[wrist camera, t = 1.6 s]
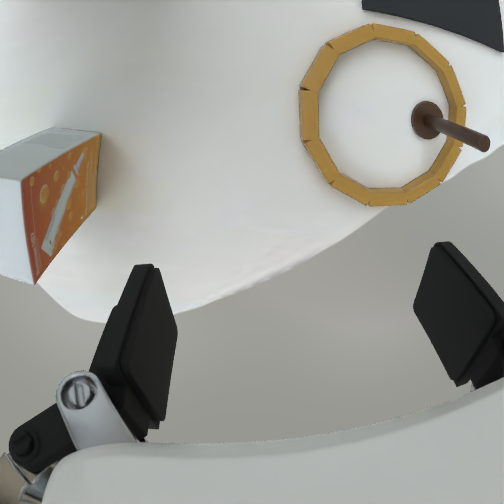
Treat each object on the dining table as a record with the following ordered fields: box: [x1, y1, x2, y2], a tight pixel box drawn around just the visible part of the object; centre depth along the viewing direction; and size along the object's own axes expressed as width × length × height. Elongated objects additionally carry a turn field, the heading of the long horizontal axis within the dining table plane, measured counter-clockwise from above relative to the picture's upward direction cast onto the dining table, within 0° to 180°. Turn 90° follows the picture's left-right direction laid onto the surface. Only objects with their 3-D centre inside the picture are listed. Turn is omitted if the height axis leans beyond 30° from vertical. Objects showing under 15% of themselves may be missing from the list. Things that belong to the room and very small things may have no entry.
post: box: [411, 101, 490, 152], centre depth 20 cm, size 4×4×9 cm
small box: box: [0, 128, 101, 285], centre depth 20 cm, size 8×6×13 cm
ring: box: [299, 24, 466, 206], centre depth 23 cm, size 18×18×1 cm
